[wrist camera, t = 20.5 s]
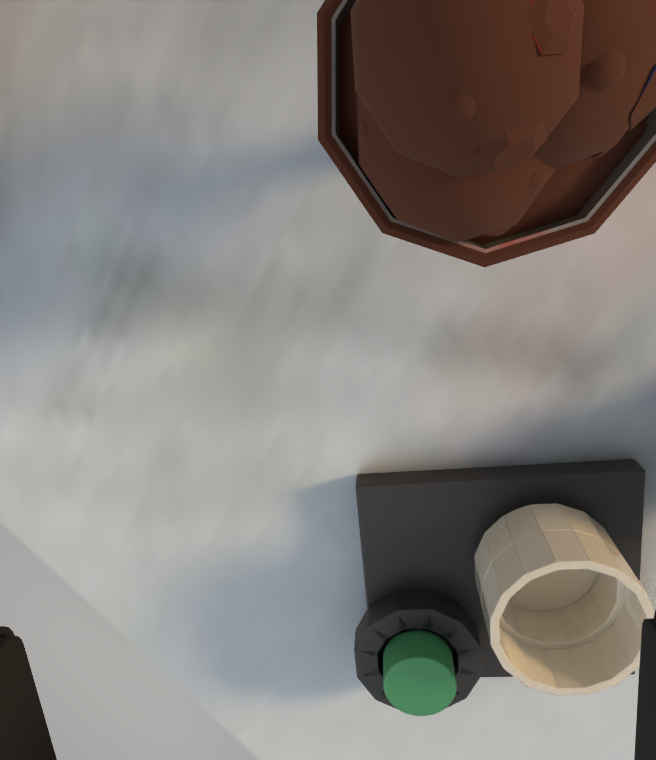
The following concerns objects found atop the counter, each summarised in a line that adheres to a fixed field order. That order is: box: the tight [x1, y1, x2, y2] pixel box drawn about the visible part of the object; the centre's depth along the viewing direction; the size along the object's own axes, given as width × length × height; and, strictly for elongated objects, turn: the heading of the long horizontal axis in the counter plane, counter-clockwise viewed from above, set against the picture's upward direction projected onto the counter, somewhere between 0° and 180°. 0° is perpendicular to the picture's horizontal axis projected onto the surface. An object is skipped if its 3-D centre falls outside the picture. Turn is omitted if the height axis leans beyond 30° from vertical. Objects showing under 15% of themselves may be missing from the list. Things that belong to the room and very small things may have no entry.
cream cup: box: [474, 503, 655, 695], centre depth 29 cm, size 7×7×6 cm
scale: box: [354, 459, 645, 709], centre depth 32 cm, size 15×13×3 cm
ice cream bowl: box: [317, 0, 656, 267], centre depth 20 cm, size 11×11×15 cm
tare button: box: [383, 630, 457, 716], centre depth 32 cm, size 4×4×2 cm
